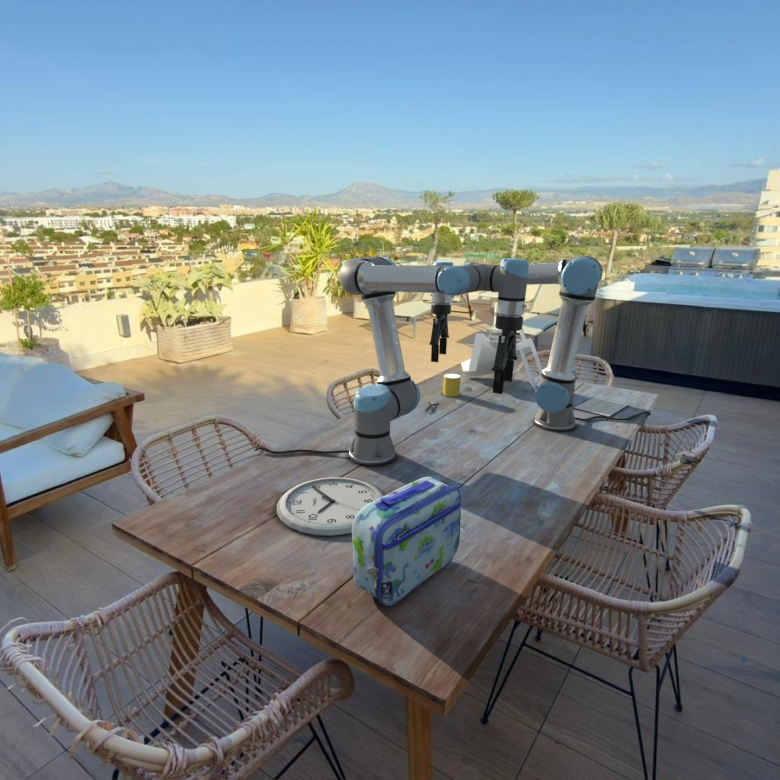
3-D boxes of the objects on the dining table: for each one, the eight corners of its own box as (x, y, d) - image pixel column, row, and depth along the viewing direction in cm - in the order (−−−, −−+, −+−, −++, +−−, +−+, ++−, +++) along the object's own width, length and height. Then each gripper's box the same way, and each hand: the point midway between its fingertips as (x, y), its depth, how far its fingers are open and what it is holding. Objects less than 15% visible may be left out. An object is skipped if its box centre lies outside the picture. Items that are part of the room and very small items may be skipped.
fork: (422, 411, 216) (422, 407, 215) (433, 400, 230) (433, 396, 230) (428, 412, 215) (429, 407, 215) (438, 401, 230) (439, 396, 229)
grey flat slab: (608, 416, 214) (573, 407, 224) (608, 416, 214) (573, 408, 224) (628, 404, 229) (594, 396, 238) (628, 405, 229) (594, 397, 238)
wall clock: (392, 527, 129) (268, 531, 127) (391, 533, 130) (269, 537, 127) (383, 473, 158) (282, 475, 155) (383, 478, 158) (282, 480, 156)
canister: (439, 392, 242) (440, 374, 239) (453, 390, 245) (454, 373, 242) (448, 397, 235) (449, 378, 233) (462, 395, 238) (463, 377, 236)
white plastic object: (482, 418, 266) (461, 395, 241) (463, 346, 288) (443, 318, 264) (553, 394, 254) (538, 368, 229) (528, 321, 276) (512, 289, 251)
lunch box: (381, 619, 101) (382, 525, 95) (345, 592, 109) (344, 503, 102) (464, 563, 119) (469, 480, 113) (428, 543, 126) (432, 464, 120)
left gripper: (514, 323, 135) (506, 400, 142) (530, 310, 157) (522, 377, 163) (486, 320, 138) (479, 396, 144) (505, 307, 160) (499, 374, 166)
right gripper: (439, 298, 210) (436, 350, 217) (423, 307, 188) (421, 364, 194) (457, 299, 208) (454, 351, 214) (443, 308, 185) (440, 366, 192)
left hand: (502, 386), depth 154 cm, fingers open, 13 cm apart
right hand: (438, 357), depth 204 cm, fingers open, 13 cm apart
